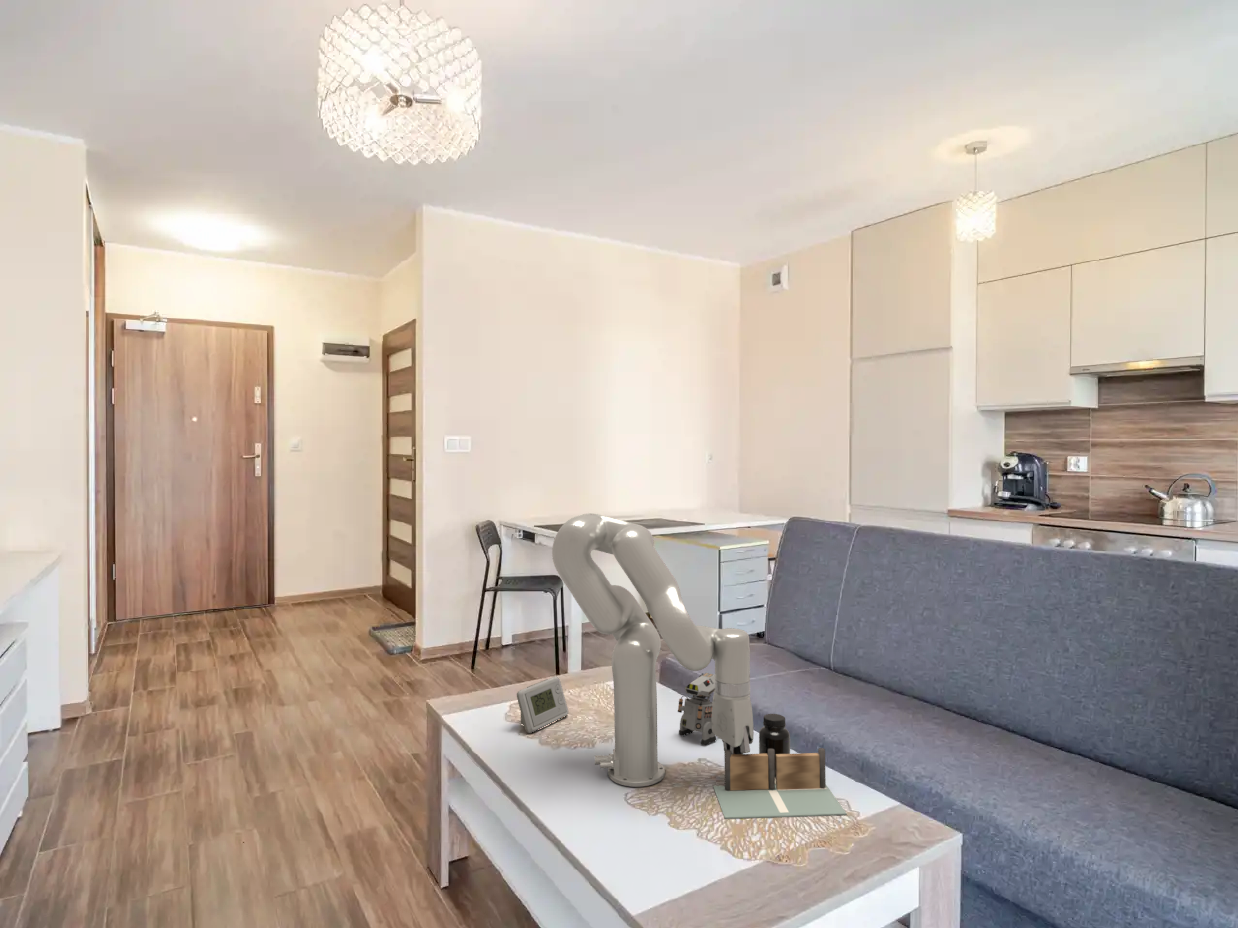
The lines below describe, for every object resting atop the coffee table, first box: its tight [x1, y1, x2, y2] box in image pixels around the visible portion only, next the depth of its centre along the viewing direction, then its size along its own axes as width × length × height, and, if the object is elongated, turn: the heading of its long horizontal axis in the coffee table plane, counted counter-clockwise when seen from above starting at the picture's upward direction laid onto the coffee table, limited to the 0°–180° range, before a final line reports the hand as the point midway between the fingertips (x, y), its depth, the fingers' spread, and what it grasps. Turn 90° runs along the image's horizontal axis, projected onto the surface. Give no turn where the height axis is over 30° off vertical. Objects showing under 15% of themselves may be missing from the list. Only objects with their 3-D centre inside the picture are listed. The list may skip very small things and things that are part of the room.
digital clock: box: [516, 676, 569, 734], centre depth 184 cm, size 16×9×11 cm, turn 133°
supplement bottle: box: [758, 713, 791, 777], centre depth 155 cm, size 7×7×12 cm
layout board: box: [713, 783, 848, 820], centre depth 141 cm, size 24×13×1 cm, turn 92°
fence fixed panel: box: [775, 747, 827, 790], centre depth 146 cm, size 10×1×8 cm, turn 92°
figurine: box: [677, 672, 717, 746], centre depth 174 cm, size 9×12×15 cm
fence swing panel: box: [723, 749, 776, 791], centre depth 145 cm, size 11×1×8 cm, turn 92°
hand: (733, 771), depth 149 cm, fingers closed
